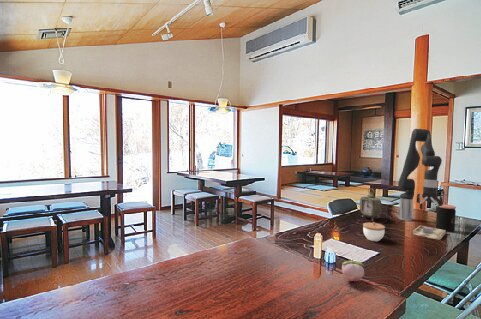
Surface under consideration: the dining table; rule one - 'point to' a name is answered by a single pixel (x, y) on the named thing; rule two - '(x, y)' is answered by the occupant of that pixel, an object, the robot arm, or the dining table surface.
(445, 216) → the coffee jar
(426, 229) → the gray cube
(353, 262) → the decorative fruit
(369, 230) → the lidded bowl
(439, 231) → the tray
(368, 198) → the tabletop clock
